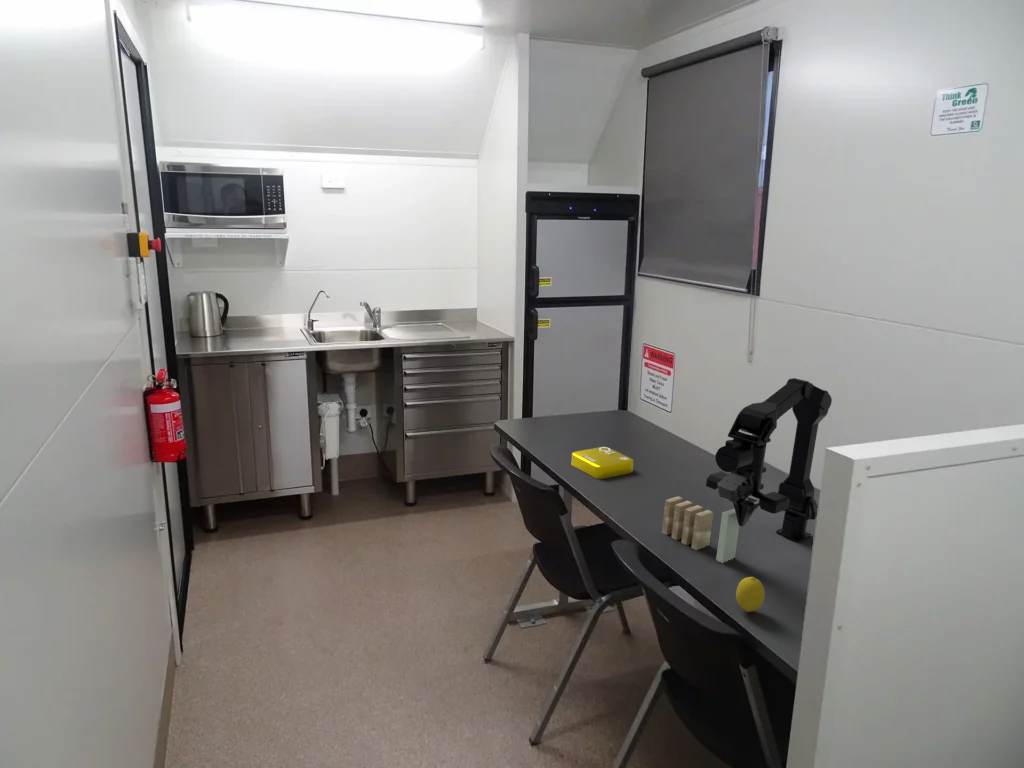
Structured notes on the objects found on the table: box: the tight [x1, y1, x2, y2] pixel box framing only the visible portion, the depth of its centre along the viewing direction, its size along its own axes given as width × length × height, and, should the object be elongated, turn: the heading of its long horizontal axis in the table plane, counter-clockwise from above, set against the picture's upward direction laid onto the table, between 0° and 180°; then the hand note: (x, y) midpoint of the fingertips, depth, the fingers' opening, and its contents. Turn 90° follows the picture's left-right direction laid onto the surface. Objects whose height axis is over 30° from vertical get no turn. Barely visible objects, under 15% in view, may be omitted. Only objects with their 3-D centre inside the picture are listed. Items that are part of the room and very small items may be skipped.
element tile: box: [570, 446, 634, 480], centre depth 224 cm, size 15×15×5 cm
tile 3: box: [671, 500, 694, 541], centre depth 179 cm, size 2×5×9 cm, turn 126°
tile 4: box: [661, 495, 684, 536], centre depth 181 cm, size 2×5×9 cm, turn 127°
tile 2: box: [680, 504, 704, 546], centre depth 176 cm, size 2×5×9 cm, turn 126°
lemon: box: [735, 576, 766, 613], centre depth 146 cm, size 6×6×8 cm
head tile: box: [715, 508, 740, 564], centre depth 167 cm, size 2×5×12 cm, turn 126°
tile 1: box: [691, 509, 714, 551], centre depth 174 cm, size 2×5×9 cm, turn 126°
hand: (741, 525), depth 164 cm, fingers closed
